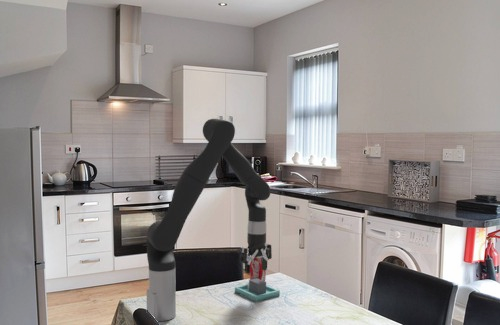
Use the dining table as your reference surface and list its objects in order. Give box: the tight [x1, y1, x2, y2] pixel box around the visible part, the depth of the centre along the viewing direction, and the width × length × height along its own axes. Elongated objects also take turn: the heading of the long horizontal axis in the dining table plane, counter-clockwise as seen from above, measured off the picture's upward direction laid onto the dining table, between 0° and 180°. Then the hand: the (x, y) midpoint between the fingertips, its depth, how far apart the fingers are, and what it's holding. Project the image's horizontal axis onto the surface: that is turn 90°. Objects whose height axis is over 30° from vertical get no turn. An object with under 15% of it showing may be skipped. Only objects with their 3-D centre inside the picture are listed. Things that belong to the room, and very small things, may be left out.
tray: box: [234, 283, 281, 303], centre depth 181 cm, size 12×14×2 cm
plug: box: [247, 278, 267, 295], centre depth 181 cm, size 8×4×4 cm, turn 37°
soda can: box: [249, 257, 267, 282], centre depth 195 cm, size 7×7×12 cm
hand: (256, 271), depth 181 cm, fingers open, 8 cm apart
